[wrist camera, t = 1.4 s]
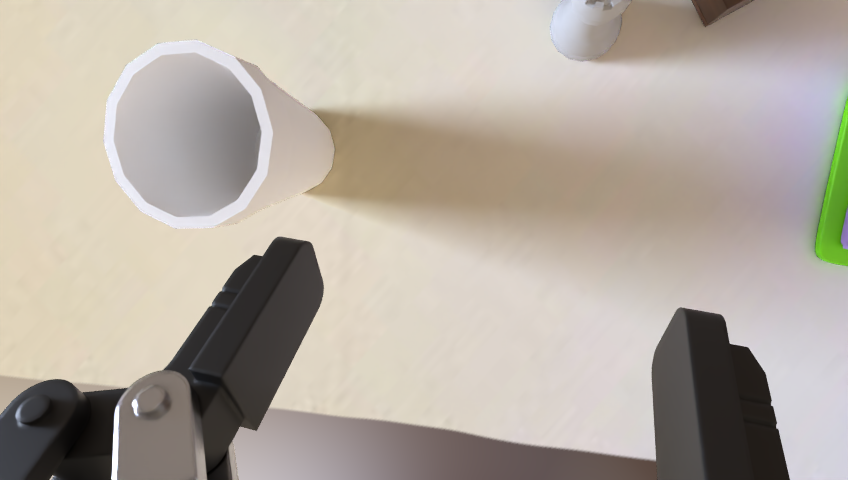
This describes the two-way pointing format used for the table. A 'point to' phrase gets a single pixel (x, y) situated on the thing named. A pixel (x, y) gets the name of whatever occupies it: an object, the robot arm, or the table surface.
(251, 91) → the foam cup
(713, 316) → the robot arm
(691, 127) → the table surface
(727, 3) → the compartment tray
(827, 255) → the toy room diorama
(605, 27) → the rook chess piece
